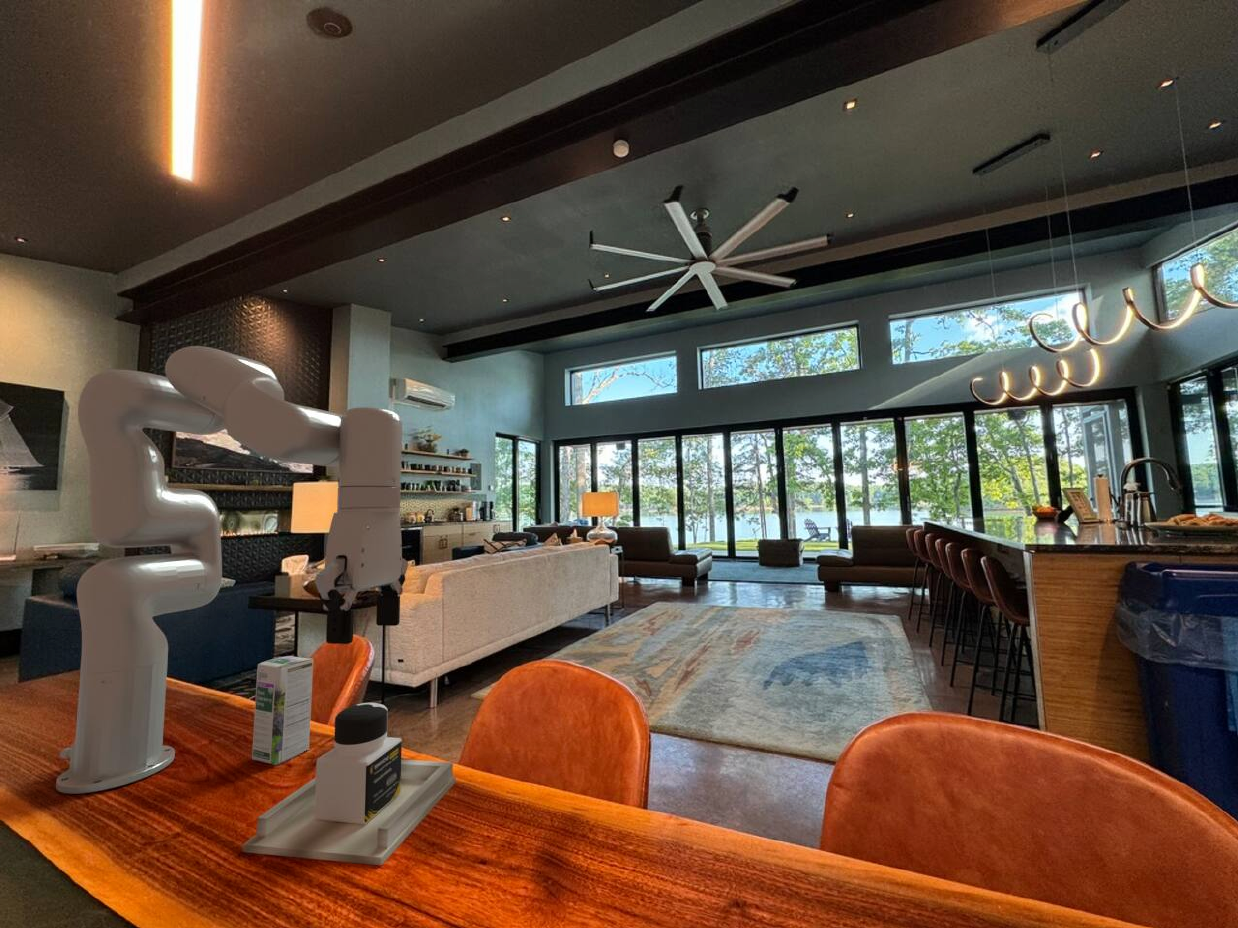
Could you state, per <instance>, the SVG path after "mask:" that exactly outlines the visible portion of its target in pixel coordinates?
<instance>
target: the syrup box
mask: <svg viewBox="0 0 1238 928" xmlns="http://www.w3.org/2000/svg"><path fill="white" fill-rule="evenodd" d="M313 669H314V658H306V657H299V656H293V655H286V656H279V657H276V658H272V659H269V660H266V661H262V662H260V663H258V664H257V671H256V684H255V685H256V687H255V689H256V690H255V702H254V704H255V705H254V716H253V717H254V718H253V719H254V720H253V721H254V722H253V735H252V736H253V738H252V751H251V753H252V755H251V759H252V761H259V762H263V763H267V764H270V765H273V766H277V765H280V764H282V763H284V762H287V761H289V760H290V759H292V758H295V757H296V756H299V755H301V754H302V753H304V751H305V752H307V751H308V749H309V750H310V737H311V736H310V735H311V734H310V733H311V714H312V695H313V694H312V693H313V674H314V673H313V672H314V671H313ZM306 750H307V751H306Z"/></svg>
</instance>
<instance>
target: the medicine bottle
mask: <svg viewBox="0 0 1238 928" xmlns="http://www.w3.org/2000/svg"><path fill="white" fill-rule="evenodd" d="M333 737H334V741H333V746H334V748H332V749H331V750H329V751H328V752H326V753H324V754H322V755H321V756H320V757H318V758H317V759H316V767H315V777H316V789H315V816H314V817H315V819H316V820H325V821H334V822H343V823H352V824H361V825H365V824H367V823H368V822H369V821H370V820H371V819H372V818H373V817H375V816H376V815H377V814H378V813H379V812H380V811H381V810H382V809H383V808H385V807H386V806H387V805H388V804H389V803H390V802H391V801H392V800H394V799H395V798H396V797H397V796H398V795H399V794H400V792H401V759H402V751H403V750H402V747H403V746H402V745H403V742H402V741H403V740H402V738H401V737H390V736H389V737H388V708H387V707H386V706H385V705H384V704H383V703H382V704H381V703H378V702H377V703H376V702H362V703H358V704H354V705H351V706H348V707H346V708H345V709H342V710H341V711H339V712H338V713H337V714H336V716H335V718H334V736H333Z"/></svg>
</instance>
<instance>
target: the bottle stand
mask: <svg viewBox="0 0 1238 928" xmlns="http://www.w3.org/2000/svg"><path fill="white" fill-rule="evenodd" d="M441 762H443V763H441ZM453 765H454V763H453V762H448V761H436V760H435V761H433V760H418V759H416V760H415V759H402V758H401V792H400V794H399V795H398V796H397V797H396V798H395V799H394V800H392V801H391V802H390V803H389V804H388V805H387V806H386V807H385V808H383V809H382V810H381V811H380V812H379V813H378V814H377V815H376V816H375V817H373V818H372V819H371V820H370V821H369V822H368V823H367V824H365V825H361V824H352V823H343V822H334V821H325V820H316V819H315V817H314V816H315V789H316V776H315V777H314V778H313V779H311V780H310V781H308V782H307V783H306V784H304V785H302V786H301V787H299V788H298V789H297V790H296V791H294V792H292V793H290V794H289V795H288V796H287V797H285V798H284V799H282V800H281V801H279V802H278V803H277V804H275V805H273V807H271V808H269V809H268V810H267V811H265V812H264V813H262V814H261V815H259V816H258V817H256V818H257V822H256V834H255V835H254V836H252V837H251V838H250V839H248V840H247V841H246V842H244V843H243V844H242V853H248V854H249V853H250V854H261V855H269V856H279V857H280V856H282V857H291V858H300V859H312V860H323V861H333V862H342V863H352V864H362V865H363V864H364V865H374V866H382V865H383V864H384V863H385V862H386V861H387V860H388V859H389V858H390V856H392V854H394V852H395V851H396V850H397V849H398V847H400V845H401V844H402V843H403V842H404V841H405V840H406V839H407V838H408V837H409V835H410V834H411V833H412V832H413V831H414V830H415V829H416V828H417V826H419V824H420V823H421V822H422V821H423V820H424V819H425V817H426V816H428V814H429V813H430V812H431V811H432V810H433V809H434V807H436V805H437V804H438V803H439V802H440V800H441V799H443V798H444V796H445V795H446V794H447V793H448V792H449V791H450V789H452V787H453V786H454V785H455V784H456V780H457V779H456V776H453V774H454V773H453V768H454V767H453Z"/></svg>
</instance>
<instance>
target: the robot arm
mask: <svg viewBox="0 0 1238 928" xmlns="http://www.w3.org/2000/svg"><path fill="white" fill-rule="evenodd" d="M164 369H165V370H164V371H165V372H164V373H165V376H163V375H161V374H160V375H158V374H154V373H150V372H145V371H140V370H139V371H138V370H130V369H108V370H104V371H100V372H99V373H96V374H95V375H93V376H92V377H91V378H90V379H88V380H87V382H86V383H85V384H84V387H83V389H82V391H81V393H80V395H79V399H78V404H77V405H78V406H77V419H78V424H79V428H80V431H81V432H80V433H81V434H82V435H81V436H82V439H83V441H84V444H85V447H86V449H87V450H86V451H87V454H88V459H89V488H90V489H89V490H90V491H89V493H90V496H89V497H90V522H91V524H90V525H91V532H92V535H93V538H94V539H95V541H96V542H97V543H99V544H100V545H102V546H105V547H109V548H119V549H120V548H123V549H124V548H143V547H144V548H145V547H146V548H147V547H162V546H163V547H164V546H165V547H166V546H169V547H170V551H171V553H166V554H165V553H161V554H160V553H159V554H158V553H157V554H142V555H134V556H133V555H132V556H131V555H130V556H122V557H115V558H112V559H111V558H110V559H106V560H103V561H101V562H98V563H96V564H95V565H92V566H91V567H89V568H88V569H87V570H86V571H85V572H83V573H82V575H81V577H80V578H79V580H78V583H77V585H76V586H77V587H76V600H77V608H78V611H79V613H78V614H79V616H80V617H79V618H80V624H81V660H80V674H79V675H80V677H79V689H78V690H79V691H78V702H77V703H78V704H77V712H76V713H77V714H76V715H77V716H76V729H75V740H74V741H73V743H72V744H71V746H70V747H64V748H63V749H62V750H61V751H60V754H59V757H60V758H61V759H69V768H68V769H66V770H65V771H64V772H62V773H61V774H60V775H59V776H58V777H57V778H56V782H55V783H56V784H55V789H56V790H57V791H58V792H60V793H62V794H67V795H68V794H69V795H74V794H75V795H76V794H91V793H95V792H100V791H101V792H102V791H106V790H110V789H113V788H118V787H121V786H122V787H123V786H125V785H128V784H131V783H135V782H137V781H140V780H143V779H144V778H147V777H149V776H151V775H154V774H156V773H158V772H160V771H161V770H164V769H165V768H166V767H168V766H169V765H170V764H171V763H172V762H173V761H174V759H175V757H176V756H175V754H176V750H175V748H173V747H172V746H169V745H167V744H166V745H164V743H163V741H164V740H163V739H164V724H165V723H164V722H165V712H166V711H165V708H166V696H167V695H166V691H167V678H168V677H167V675H168V661H169V658H168V656H169V655H168V654H169V643H168V639H167V637H166V635H165V633H164V632H163V631H162V630H161V628H160V627H159V626H158V625H157V624H156V622H155V620H154V619H153V617H156V616H160V615H164V614H171V613H176V612H182V611H186V610H193V609H198V608H201V607H204V606H205V605H208V604H209V603H211V602H212V601H213V600H214V599H215V598H216V597H217V596H218V594H219V591H220V590H221V586H222V581H223V558H222V557H223V555H222V538H221V536H222V535H221V533H222V532H221V518H220V514H219V513H220V512H219V509H218V507H217V504H216V502H215V501H214V499H213V498H212V497H211V496H210V495H208V494H207V493H206V492H204V491H201V490H197V489H194V488H179V487H178V488H177V487H169V486H168V485H167V484H166V477H165V476H166V475H165V460H164V457H163V455H162V453H161V451H160V450H159V448H158V447H157V445H156V444H155V443H154V441H153V440H152V439H151V438H150V437H149V436H148V435H146V433H145V432H144V431H143V429H144V428H147V429H148V428H149V429H154V430H161V431H170V432H175V433H185V434H191V435H203V436H204V435H212V434H217V433H220V432H221V431H224V430H226V432H227V434H228V436H229V437H231V438H232V439H233V440H235V441H236V442H238V443H239V444H241V445H243V446H244V447H247V448H248V449H250V450H252V451H253V452H255V453H257V454H258V455H261V456H263V457H266V458H268V459H270V460H275V461H278V462H284V463H290V464H291V463H293V464H304V465H314V466H319V467H320V466H321V467H331V468H338V476H337V477H338V478H337V501H336V502H337V505H336V507H337V509H336V512H333V515H332V518H331V522H330V526H329V530H328V535H327V543H326V549H325V557H324V569H323V570H321V571H320V572H319V573H318V574H317V575H316V576H315V578H314V583H315V586H316V589H317V591H318V598H319V600H320V601H321V602H322V603H323V606H322V607H323V610H324V611H326V629H325V630H326V631H325V633H326V635H325V641H326V643H327V644H330V645H331V644H332V645H333V644H335V645H336V644H337V645H349V644H352V643H353V641H354V625H355V624H354V621H355V609H354V608H353V609H352V608H351V607H352V604H353V603H354V600H355V599H356V596H357V595H358V593H359V592H365V591H369V590H373V589H377V591H378V593H379V594H380V595H377V597H376V613H375V615H376V616H375V617H376V619H375V622H376V623H375V624H376V625H377V626H381V627H382V626H383V627H385V626H388V627H390V626H391V627H393V626H394V627H396V626H398V625H399V624H400V620H401V619H400V618H401V617H400V616H401V596H402V594H403V585H404V583H405V581H406V573H407V570H408V567H409V562H408V561H407V560H406V559H405V558H403V555H402V554H403V546H402V545H403V543H402V529H401V528H402V527H401V518H400V513H401V483H402V482H401V481H402V480H401V479H402V446H403V445H402V444H403V443H402V441H403V438H402V437H403V422H402V419H401V416H400V415H399V414H398V413H397V412H395V411H392V410H390V409H386V408H381V407H380V408H379V407H367V406H366V407H364V406H363V407H353V408H352V407H351V408H349V409H347V410H345V411H344V412H343V414H341V413H335V412H331V411H328V410H323V409H319V408H315V407H310V406H305V405H301V404H295V403H293V402H289V401H287V400H285V392H284V389H283V387H282V385H281V384H280V382H279V381H278V378H277V376H276V374H275V373H274V371H273V369H271V368H270V367H269V366H267V365H266V364H264V363H263V362H260V361H258V360H255V359H252V358H248V357H244V356H241V355H238V354H235V353H231V352H228V351H225V350H221V349H219V348H214V347H210V346H204V345H203V346H201V345H191V346H186V347H183V348H180V349H177V350H176V351H174V352H173V353H172V354H171V355H170V356H169V357H168V359H166V363H165V367H164ZM342 594H344V596H342Z"/></svg>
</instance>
